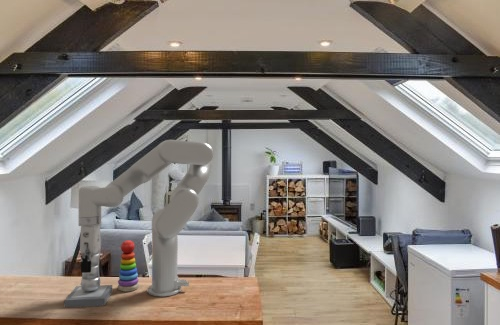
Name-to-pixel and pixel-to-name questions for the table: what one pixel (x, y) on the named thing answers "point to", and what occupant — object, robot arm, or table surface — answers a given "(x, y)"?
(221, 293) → the table surface
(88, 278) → the metal water bottle
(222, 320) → the table surface
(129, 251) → the stacking toy
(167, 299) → the table surface
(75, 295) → the slate pedestal
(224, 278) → the table surface
